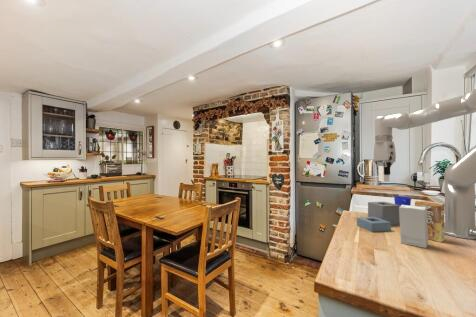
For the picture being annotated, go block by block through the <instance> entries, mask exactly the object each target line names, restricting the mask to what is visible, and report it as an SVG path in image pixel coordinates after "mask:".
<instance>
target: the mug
mask: <svg viewBox="0 0 476 317" xmlns="http://www.w3.org/2000/svg"><path fill="white" fill-rule="evenodd" d="M393 198H394V199H393V200H394V204H397V205H400V206H401V205H409V206H412V205H411V204H412V197H409V196H403V195H402V196H401V195H400V196H399V195H396V196H393Z"/></svg>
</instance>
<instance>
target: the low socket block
mask: <svg viewBox="0 0 476 317" xmlns="http://www.w3.org/2000/svg"><path fill="white" fill-rule="evenodd" d="M356 226H358V227H360V228H361V229H364V230H366V231H369V232H371V233H374V232H375V233H376V232H377V233H378V232H391V231H392V226H391V222H388V221H386V220H383V219H380V218H377V217H368V216H364V217H363V216H362V217H361V216H359V217H356Z"/></svg>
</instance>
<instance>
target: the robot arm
mask: <svg viewBox="0 0 476 317" xmlns="http://www.w3.org/2000/svg"><path fill="white" fill-rule="evenodd" d="M474 113H476V88H475V89H471V90H470V91H469V92H467V93H466V94H464V95H459V96H456V97H453V98H449V99H445V100H442V101H438V102H435V103H432V104H431V105H429V106H427V107H425V108H422V109H421V110H418V111H415V112H411V113H407V112H398V113H393V114H389V115H379V116H376V117H375V118H374V144H373V159H372V161H373V163H374V164H375V165H376V167H377V168H378V162H384V164H385V167H384V175H389V176H390V175H391V167H392V165H394V163H396V158H397V157H396V155H397V153H396V147H395V143H394V141H393V139H394V137H393V129H396V130H397V129H398V130H403V131H404V130H408V129H411V128H416V127H421V126H425V125H428V124H432V123H433V124H434V123H437V122H439V121H440V122H441V121H444V120H448V119H449V120H450V119H451V118H455V117H461V116H466V115H469V114H474ZM387 162H388V163H387ZM443 178H444V180H443V181H444V235H448V236H451V237H453V238H454V237H456V238H461V239H468V240H476V145H474V146H473V147H471V148H470V149H469V150H468V152H467V154H465V155H464V156H463V157H461V158H460V159H459V160H458V161H456V163H452V164H449V166H447V167H446V168H445V170H444V174H443Z"/></svg>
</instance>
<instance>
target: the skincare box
mask: <svg viewBox="0 0 476 317" xmlns="http://www.w3.org/2000/svg"><path fill="white" fill-rule="evenodd" d="M399 216H400V225H399V230H400V231H399V236H400V244H404V245H409V246H415V247H419V248H425V249H426V248H428V245H429V239H428V229H427V210H426V207H420V206H415V205H410V206H409V205H401V206H400V207H399Z"/></svg>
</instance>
